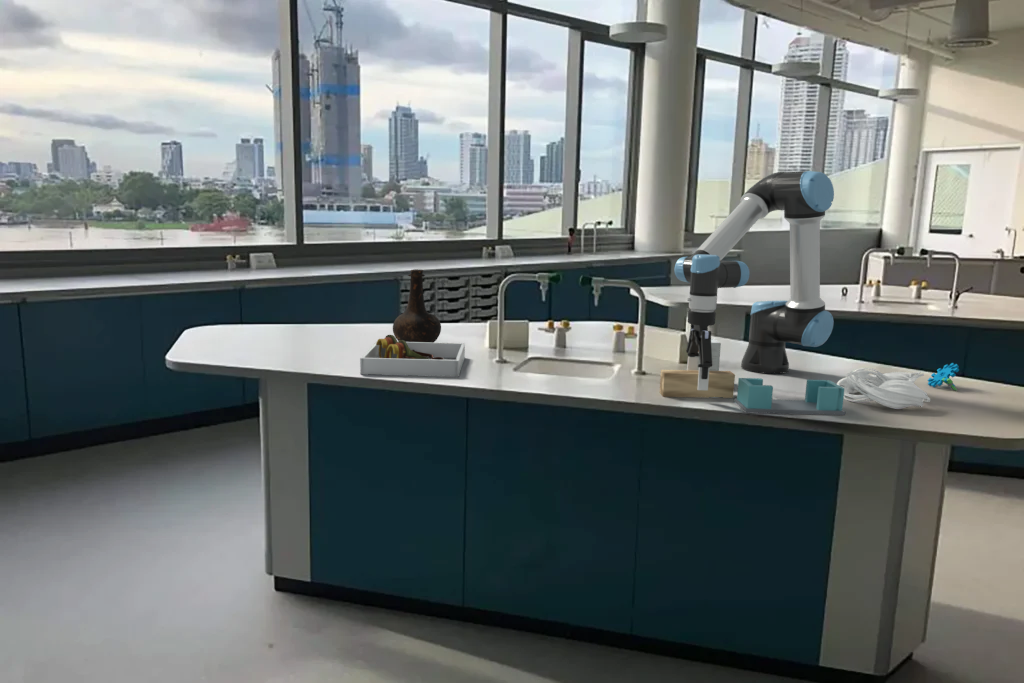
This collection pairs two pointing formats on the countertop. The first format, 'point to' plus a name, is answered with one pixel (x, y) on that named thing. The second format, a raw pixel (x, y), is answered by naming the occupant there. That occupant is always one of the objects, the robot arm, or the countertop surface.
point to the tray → (416, 361)
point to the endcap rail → (817, 400)
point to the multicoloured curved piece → (400, 350)
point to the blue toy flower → (944, 376)
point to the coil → (884, 388)
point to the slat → (696, 384)
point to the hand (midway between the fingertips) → (696, 384)
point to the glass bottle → (416, 315)
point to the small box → (713, 355)
